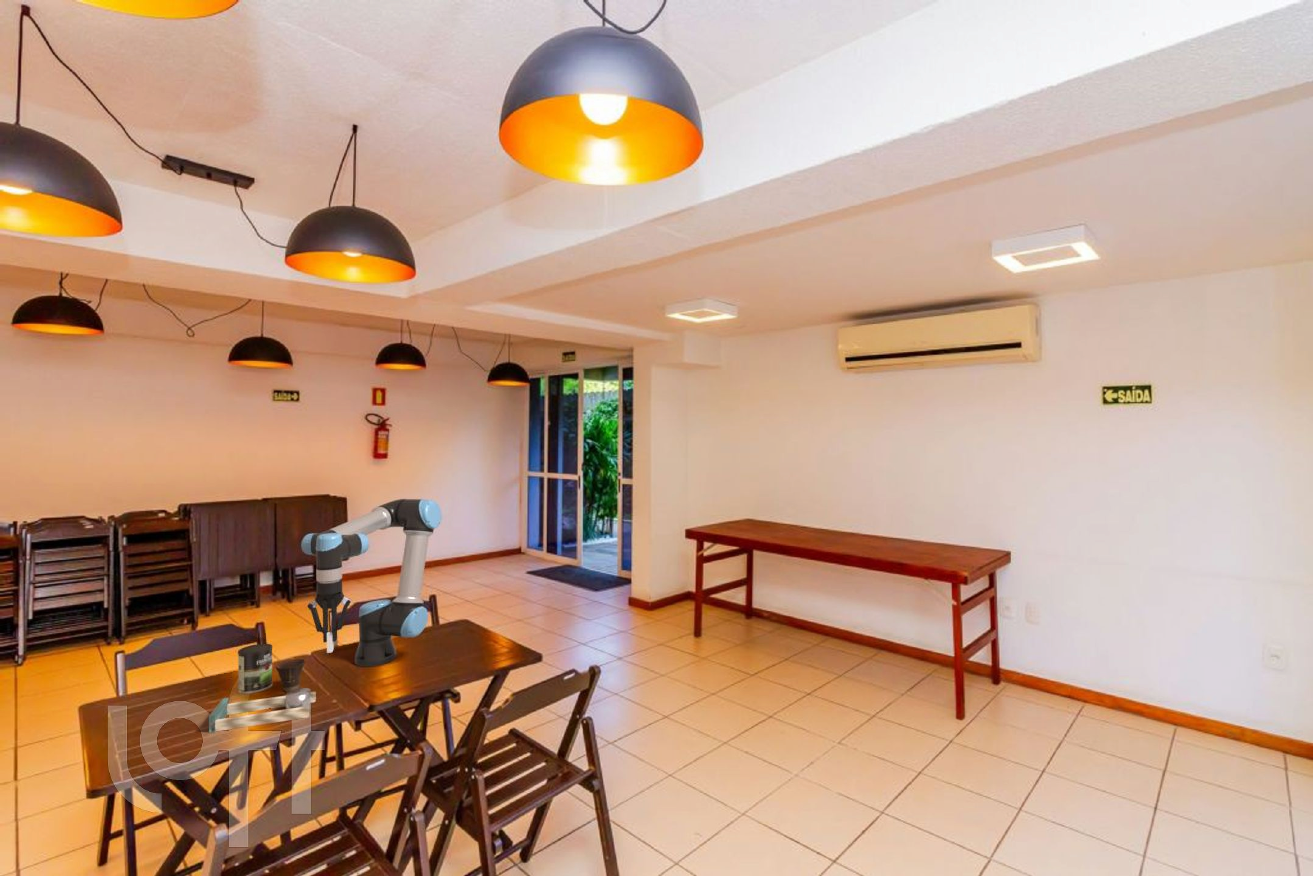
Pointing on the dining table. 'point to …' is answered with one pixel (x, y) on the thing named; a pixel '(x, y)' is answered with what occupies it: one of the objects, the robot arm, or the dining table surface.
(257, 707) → the channel
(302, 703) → the keeper
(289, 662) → the cup
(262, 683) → the coffee can
